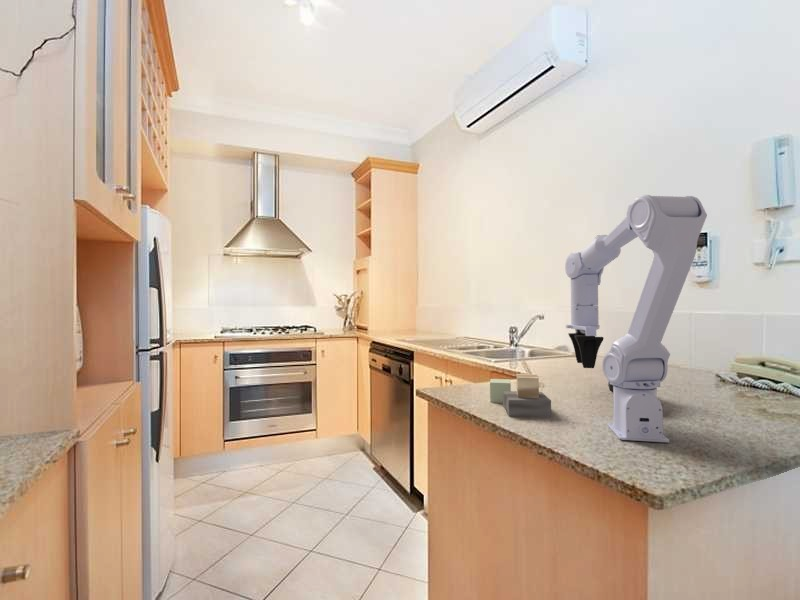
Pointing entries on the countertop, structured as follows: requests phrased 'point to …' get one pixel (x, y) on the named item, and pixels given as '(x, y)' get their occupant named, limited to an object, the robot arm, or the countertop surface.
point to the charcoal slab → (526, 405)
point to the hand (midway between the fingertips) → (585, 365)
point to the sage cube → (498, 389)
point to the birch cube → (527, 386)
